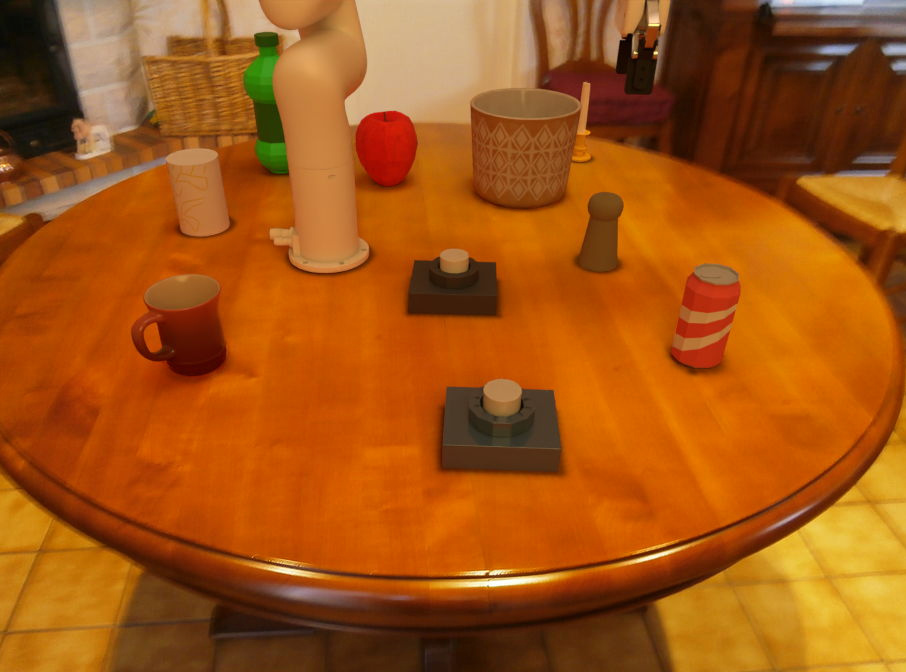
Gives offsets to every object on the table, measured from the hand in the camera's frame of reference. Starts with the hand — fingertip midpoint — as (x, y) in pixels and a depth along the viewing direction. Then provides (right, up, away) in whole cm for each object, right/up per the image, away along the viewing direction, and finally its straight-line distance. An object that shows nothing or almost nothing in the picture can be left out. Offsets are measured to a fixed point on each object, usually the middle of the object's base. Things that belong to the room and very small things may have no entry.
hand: (632, 83), depth 91 cm
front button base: (-17, -43, -11) cm, 48 cm away
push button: (-22, -21, +12) cm, 33 cm away
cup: (-64, -11, +34) cm, 73 cm away
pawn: (+1, -19, +23) cm, 30 cm away
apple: (-34, +1, +51) cm, 61 cm away
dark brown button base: (-22, -25, +14) cm, 36 cm away
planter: (-9, -2, +46) cm, 47 cm away
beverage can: (+8, -34, +2) cm, 35 cm away
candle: (+5, +9, +62) cm, 63 cm away
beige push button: (-17, -39, -14) cm, 45 cm away
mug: (-55, -36, -1) cm, 66 cm away
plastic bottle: (-55, +5, +56) cm, 79 cm away
